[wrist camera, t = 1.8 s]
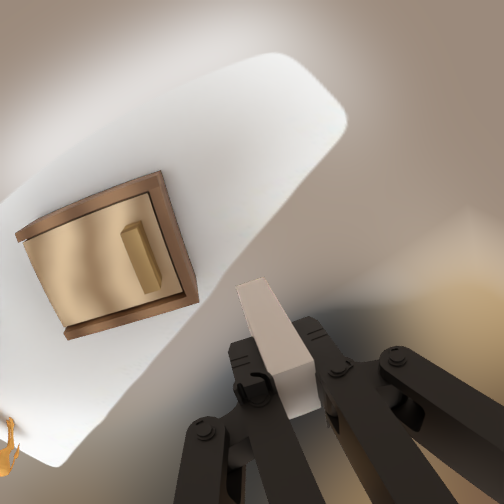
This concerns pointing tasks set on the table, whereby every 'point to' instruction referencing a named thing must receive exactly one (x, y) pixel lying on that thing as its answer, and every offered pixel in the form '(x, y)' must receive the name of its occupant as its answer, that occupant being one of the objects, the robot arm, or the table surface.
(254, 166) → the table surface
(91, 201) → the walnut box
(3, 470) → the giraffe
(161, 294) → the cover plate
